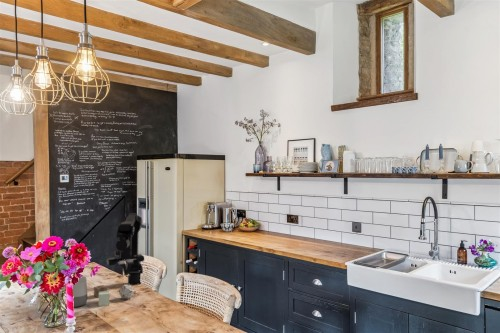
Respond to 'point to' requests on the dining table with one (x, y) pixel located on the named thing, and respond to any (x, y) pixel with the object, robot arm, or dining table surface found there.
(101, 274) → the dining table surface
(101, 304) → the sage block
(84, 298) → the smart speaker
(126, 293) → the game die
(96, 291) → the walnut cube
